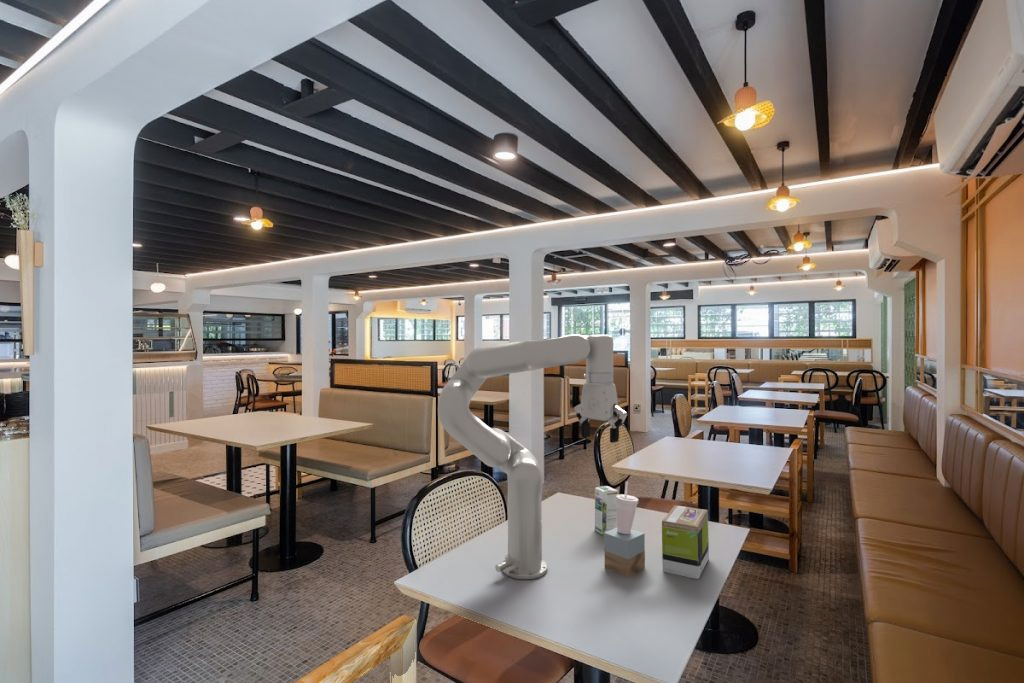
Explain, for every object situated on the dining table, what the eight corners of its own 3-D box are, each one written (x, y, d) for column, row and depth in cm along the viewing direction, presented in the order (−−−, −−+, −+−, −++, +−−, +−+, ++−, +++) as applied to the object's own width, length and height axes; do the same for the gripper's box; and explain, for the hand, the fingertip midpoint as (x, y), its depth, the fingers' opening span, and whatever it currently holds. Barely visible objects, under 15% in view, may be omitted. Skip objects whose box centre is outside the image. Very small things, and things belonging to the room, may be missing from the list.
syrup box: (593, 530, 175) (593, 487, 174) (608, 527, 177) (608, 485, 177) (603, 536, 169) (603, 492, 169) (618, 533, 172) (618, 489, 172)
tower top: (627, 559, 141) (627, 541, 141) (604, 550, 147) (603, 532, 147) (644, 550, 146) (644, 533, 146) (621, 542, 152) (620, 525, 152)
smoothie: (620, 526, 152) (625, 478, 152) (639, 533, 147) (644, 484, 147) (607, 530, 147) (612, 480, 147) (627, 537, 143) (632, 486, 143)
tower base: (628, 577, 141) (628, 559, 141) (604, 568, 147) (604, 550, 147) (644, 568, 147) (644, 550, 147) (620, 559, 153) (620, 542, 152)
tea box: (674, 552, 157) (674, 503, 157) (709, 559, 152) (709, 509, 152) (661, 572, 144) (661, 519, 144) (699, 580, 139) (699, 525, 139)
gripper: (567, 377, 150) (567, 437, 150) (618, 381, 137) (618, 446, 138) (583, 376, 155) (583, 433, 155) (633, 379, 143) (633, 441, 143)
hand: (599, 439), depth 146 cm, fingers open, 9 cm apart
